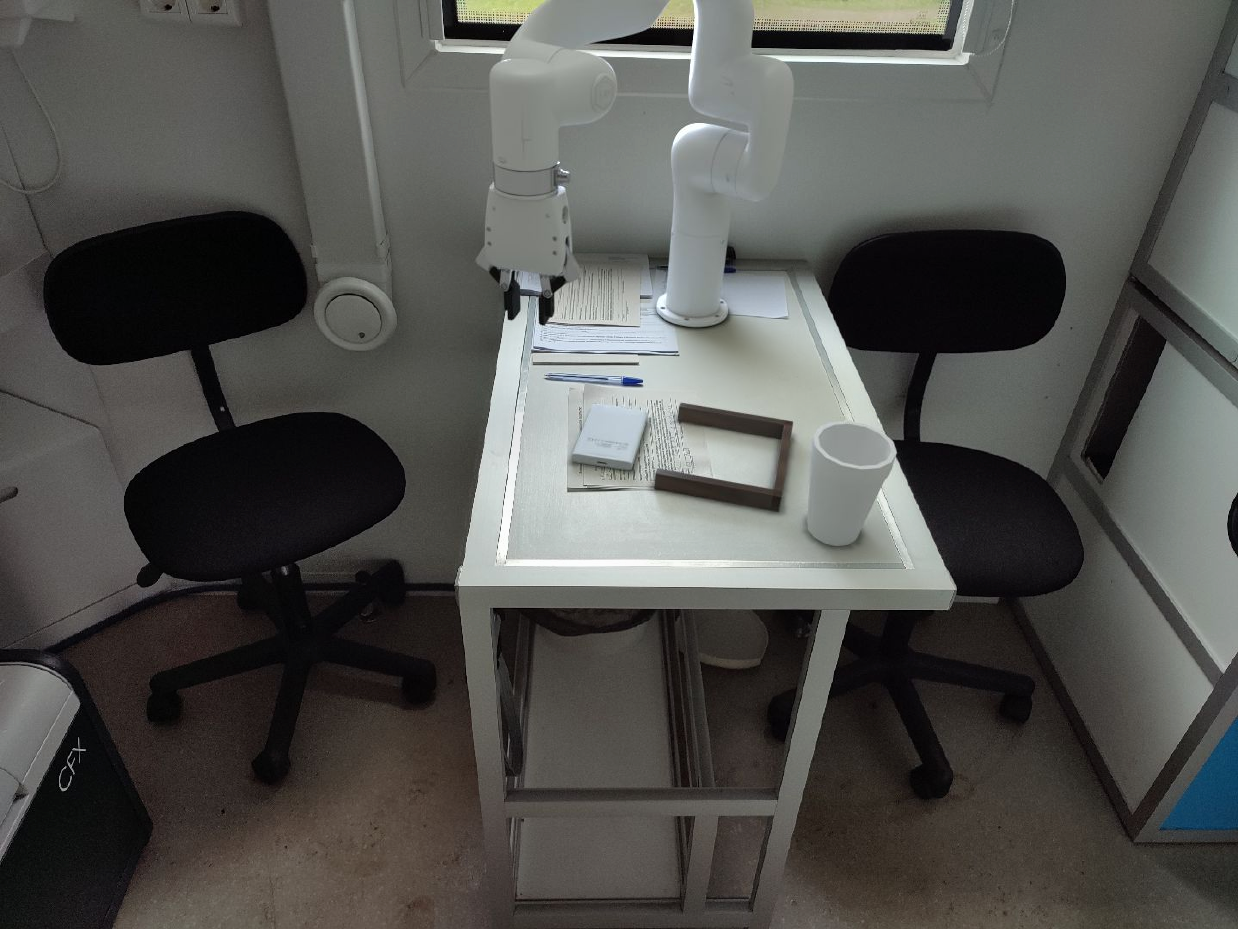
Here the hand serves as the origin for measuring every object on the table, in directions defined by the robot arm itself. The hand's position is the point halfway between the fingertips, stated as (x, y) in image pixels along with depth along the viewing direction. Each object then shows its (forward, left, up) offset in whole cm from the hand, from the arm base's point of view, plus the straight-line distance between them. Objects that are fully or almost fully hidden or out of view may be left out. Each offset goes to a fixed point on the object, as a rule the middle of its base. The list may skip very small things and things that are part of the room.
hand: (529, 316), depth 111 cm
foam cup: (+10, +42, -17) cm, 47 cm away
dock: (0, +27, -17) cm, 32 cm away
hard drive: (0, +12, -17) cm, 21 cm away
